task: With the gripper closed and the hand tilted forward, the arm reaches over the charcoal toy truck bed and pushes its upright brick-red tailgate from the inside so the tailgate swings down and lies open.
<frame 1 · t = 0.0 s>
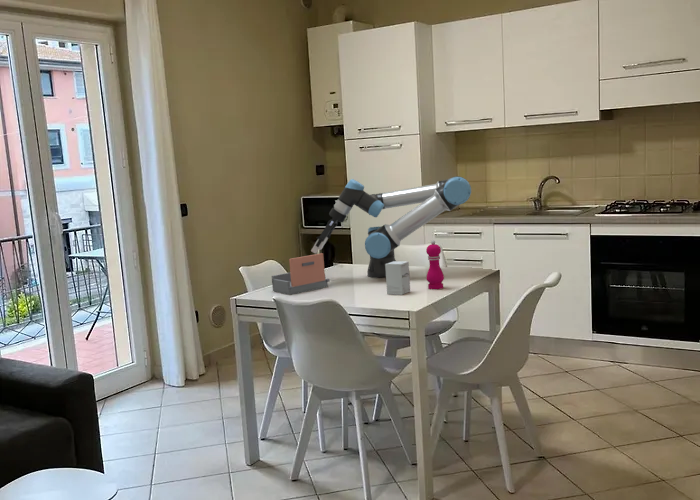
hand: (316, 250, 322), 15 cm above the table, tool tilted 35°, fingers open, 13 cm apart
supplement box: (398, 293, 287), on the table
truck bed: (309, 290, 306), on the table
pepper mill: (435, 288, 291), on the table
tailgate: (307, 269, 305), point 9 cm above the table, hinge at 0.0°
white cup: (307, 280, 334), on the table
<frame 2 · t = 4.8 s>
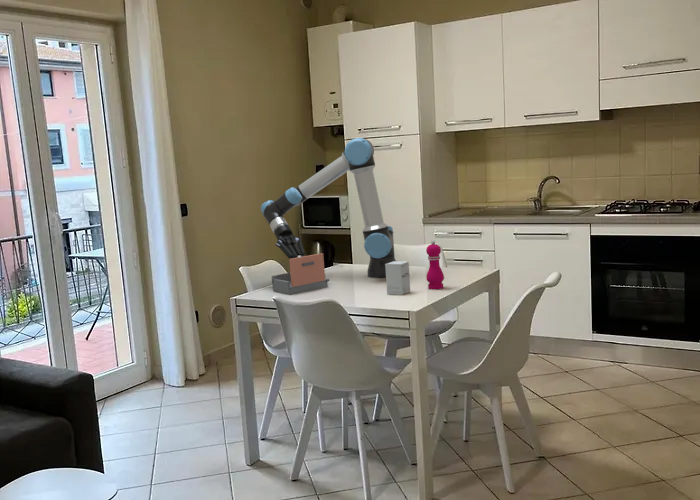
hand: (304, 268, 306), 10 cm above the table, tool tilted 45°, fingers closed
tailgate: (307, 269, 305), point 9 cm above the table, hinge at 0.4°, touching gripper
everything else where it was.
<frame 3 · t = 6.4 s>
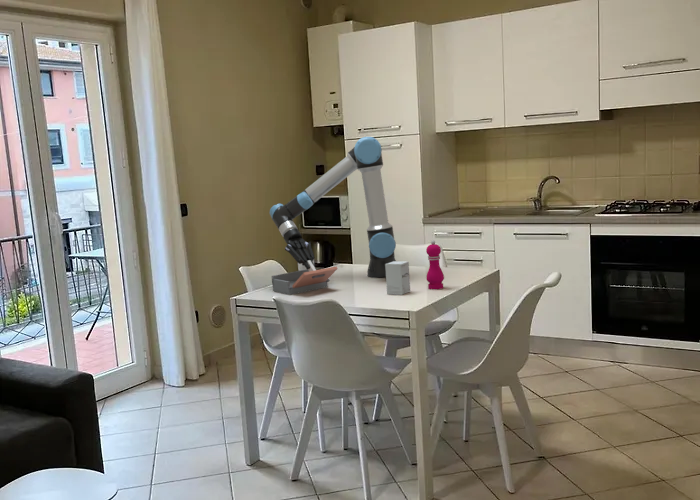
hand: (314, 273, 301), 8 cm above the table, tool tilted 45°, fingers closed
tailgate: (315, 277, 301), point 6 cm above the table, hinge at 56.4°, touching gripper
everything else where it was.
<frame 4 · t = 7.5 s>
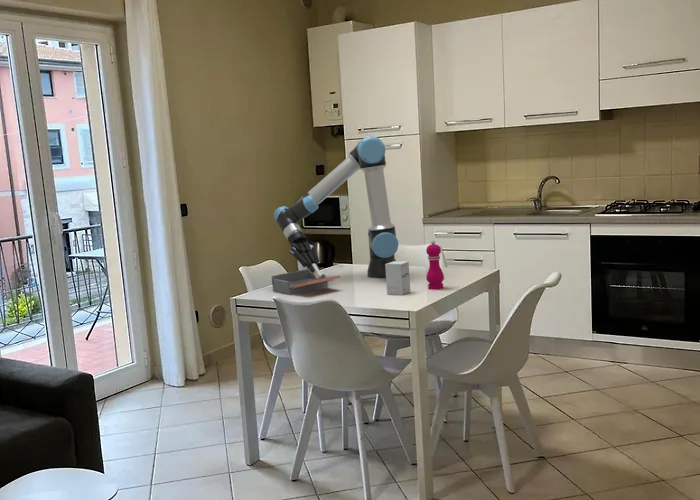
hand: (319, 277, 298), 7 cm above the table, tool tilted 45°, fingers closed
tailgate: (316, 282, 301), point 4 cm above the table, hinge at 75.9°, touching gripper
everything else where it was.
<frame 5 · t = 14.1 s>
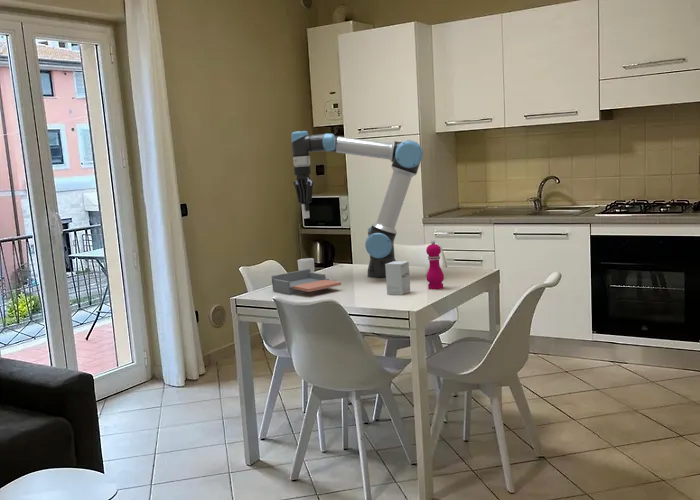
hand: (306, 218, 319), 30 cm above the table, tool pointing down, fingers closed
tailgate: (317, 286, 301), point 3 cm above the table, hinge at 90.1°
everything else where it was.
at the end: tailgate at +90° (first picture: +0°) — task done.
